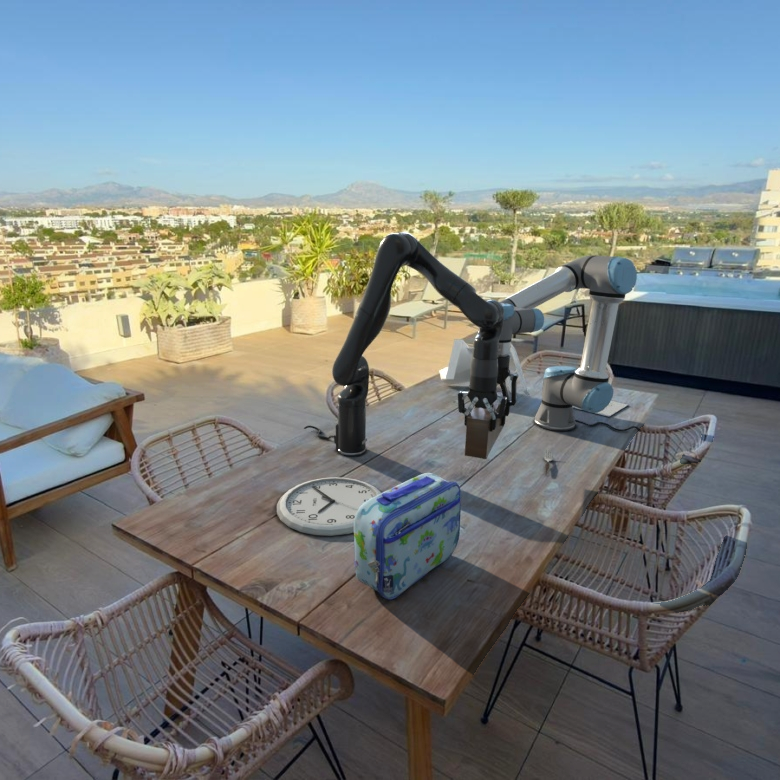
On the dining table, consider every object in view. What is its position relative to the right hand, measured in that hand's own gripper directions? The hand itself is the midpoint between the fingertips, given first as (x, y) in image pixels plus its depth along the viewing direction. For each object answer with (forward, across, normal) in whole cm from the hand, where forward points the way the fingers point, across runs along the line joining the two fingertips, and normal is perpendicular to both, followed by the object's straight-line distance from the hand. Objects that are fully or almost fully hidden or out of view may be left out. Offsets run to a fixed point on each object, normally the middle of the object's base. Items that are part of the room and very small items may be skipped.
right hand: (492, 422), depth 170 cm
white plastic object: (+13, -19, +71) cm, 74 cm away
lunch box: (+12, -4, -67) cm, 68 cm away
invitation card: (+13, +34, +72) cm, 81 cm away
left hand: (-5, 0, -20) cm, 21 cm away
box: (+2, 0, -10) cm, 10 cm away
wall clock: (+12, -33, -48) cm, 60 cm away
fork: (+13, +18, +2) cm, 22 cm away
